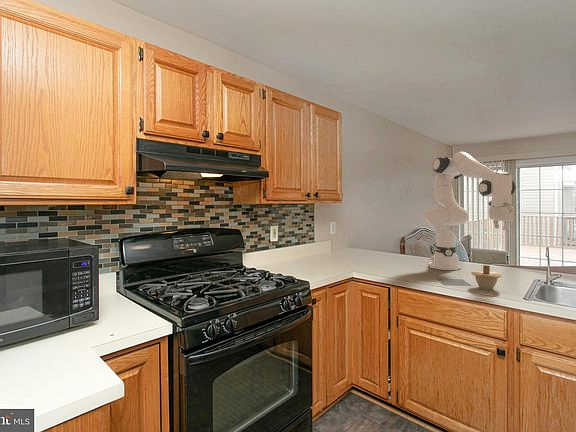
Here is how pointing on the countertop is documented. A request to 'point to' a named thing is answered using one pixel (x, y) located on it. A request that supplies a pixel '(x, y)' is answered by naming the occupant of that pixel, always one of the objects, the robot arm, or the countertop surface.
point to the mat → (454, 282)
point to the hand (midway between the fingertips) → (500, 229)
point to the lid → (486, 273)
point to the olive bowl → (486, 282)
